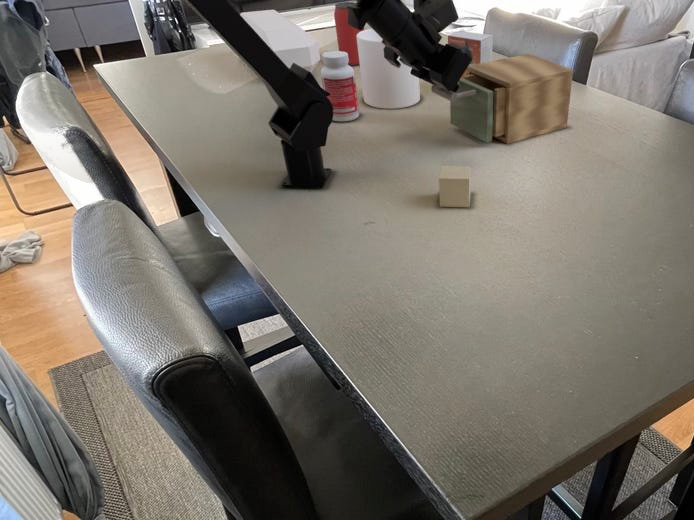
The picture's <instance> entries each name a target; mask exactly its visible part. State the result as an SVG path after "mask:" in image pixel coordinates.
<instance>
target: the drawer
mask: <svg viewBox="0 0 694 520" xmlns="http://www.w3.org/2000/svg"><path fill="white" fill-rule="evenodd" d="M458 85H459V89H458V90H457V92H453V91H450V92H449V91H447V90H445V89H442V88H440V87H439V86H436V85H433V84H431V86H430V87H431V88H430V90H431V92H432V94H433V93H434V94H436V95H437V96H440V97H441V98H443V99H446V100H448V101H449V105H450V106H449V108H450V109H449V110H450V112H449V113H450V125H452V126H454V127H456V128H458V129H459V130H462V131H463V132H465V133H467V134H469V135H471V136H473V137H475V138H477V139H478V140H481V141H482V142H485V143H486V144H487V143H491V142H493V136H495V137H497V136H501V135H504V134H505V123H506V98H507V87H505V86H503V85H500V84H498V83H496V82H493V81H491V80H488V79H486V78H484V77H481V76H479V75H476V74H470V75H465V76H463V78H460V80H459V81H458ZM492 135H493V136H492ZM495 137H494V138H495Z"/></svg>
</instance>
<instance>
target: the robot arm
mask: <svg viewBox="0 0 694 520" xmlns="http://www.w3.org/2000/svg"><path fill="white" fill-rule="evenodd" d="M183 1H184V2H185V3H186V4H187V6H188V7H190V8H191V9H192V11H194V12H195V13H196V15H197V16H198V17H199V18H200V19H201V20H202V21H203V22H204V23H205V24H206V25H207V26H208V27H209V28H210V29H211V30H212V31H213V32H214V33H215V34H216V35H217V37H219V38H220V39H221V40H222V41H223V42H224V43H225V44H226V45H227V46H228V47H229V48H230V49H231V50H232V51H233V52H234V53H235V55H237V57H239V59H240V60H241V61H242V62H243V63H244V64H245V65H246V66H247V67H248V68H249V69H250V70H251V71H252V72H253V73H254V74H255V75H256V76H257V77H258V78H259V79H260V80H261V81H262V83H263V85H264V87H266V89H267V91H268V93H269V95H270V97H271V98H272V100H273V101H274V102H275V104H276V106H277V107H276V110H274V112H273V114H272V116H271V117H270V119H269V121H268V126H269V127H270V129H271V131H272V132H273V134H274V135H275V136H277V137H279V138H280V146H281V150H282V154H283V159H284V165H285V167H286V172H287V174H286V176H285V177H284V179H283V181H282V182H281V186H282V188H299V189H300V188H304V189H305V188H306V189H323V188H324V187H325V186H326V184H327V181H328V180H329V178H330V176H331V175H332V168H329V167H325V165H324V160H323V154H322V148H323V147H325V146H326V145H327V140H328V134H329V127H330V126H331V124H332V122H333V120H332V119H333V110H334V108H333V105H332V103H331V102H330V100H329V99H328V98H327V96H330V93H329V92H327V91H325V90H324V89H323V87H322V86H321V85H320V84H319V82H318V81H317V79H316V77H315V76H314V75H313V72H309V71H307V70H306V69H304V68H302V67H300V66H299V65H297V64H295V63H293V64H292V66H291V67H290V68H288V67H287V66H286V65H285V64H284V63H283V61H282V60H281V59H280V58H279V57H278V56H277V55H276V54H275V53H274V52H273V50H272V49H271V48H270V47H269V46H268V45H267V44H266V43H265V42H264V41H263V39H262V38H261V37H260V36H259V35H258V34H257V33H256V32H255V31H254V30H253V28H252V27H251V26H250V25H249V24H248V23H247V22H246V21H245V20H244V19H243V17H242V16H241V15H240V14H241V13H239V12H238V11H237V10H236V8H235V7H234V6H233V5H232V4H231V3H230V2H229V0H183ZM355 1H356V2H354V3H355V4H354V5H352V6H347V11H348V25H349V26H351V27H353V28H355V29H358V30H360V31H361V30H362V29H363V28H364V29H365V27H366V25H368V26H369V27H370V29H373V30H374V31H375V32H376V33H377V34H378V35H379V36H380V37H381V38H382V39H383V40H382V43H383V44H384V45H385V47H384V58H385V59H386V60H387V61H388V62H389V63H390V64H391V65H393V66H395V67H397V68H400V66H401V63H400V62H399V61H398V60H397V58H398V57H399V56H400V59H399V60H400V61H401V62H402V63H403V64H404V65H407V66H409V67H411V68H412V69H411V72H410V73H411V75H413V76H415V77H418V78H419V80H423V81H424V82H426V83H429V84H431V85H436V86H439V87H440V88H442V89H445V90H447V91H449V92H450V91H453V92H457V90H458V89H459V85H458V81H459V80H460V78H461V77H462V75H463V74H464V72H465V70H466V69H467V67H468V66H469V64H470V63H471V61H472V55H471V54H470V53H469V51H468V50H467V49H466V48H465V47H463V46H460V45H457V44H455V43H448V42H447V43H445V44H442V43H440V41H441V40H442V38H443V36H442V35H441V32H443V31H444V30H446V29H447V27H449V26H450V25H451V24H453V23H456V22H457V21H458V20H459V18H460V17H459V14H458V12H457V9H456V6H455V3H454V1H453V0H412V1H413V2H412V4H413V11H412V10H411V9H409V7H408V6H407V5H406V4H405V3H404V2H403V1H402V0H355Z"/></svg>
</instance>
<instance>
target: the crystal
mask: <svg viewBox="0 0 694 520" xmlns="http://www.w3.org/2000/svg"><path fill="white" fill-rule="evenodd" d="M239 14H240V15H241V16H242V17H243V19H244V20H245V21H246V22H247V23H248V24H249V25H250V26H251V27H252V28H253V30H254V31H255V32H256V33H257V34H258V35H259V36H260V37H261V38H262V39H263V41H264V42H265V43H266V44H267V45H268V46H269V47H270V48H271V49H272V50H273V52H274V53H275V54H276V55H277V56H278V57H279V58H280V59H281V60H282V61H283V63H284V64H285V65H286V66H287V67H288V68H290V67H291V66H292V64H293V63H295V64H297V65H299V66H300V67H302V68H304V69H306V70H307V71H309V72H311V73H313V71H314V69H315V68H316V66H317V65H318V64H319V62H320V61H321V54H320V47H319V41H318V40H316V39H315V38H314V37H313V36H312V35H310V33H308V32H307V31H306V30H304V29H303V28H302V27H301V26H299V25H298V24H297V23H295V22H293V21H292V20H290V19H289V18H288V17H286V16H285V15H283V14H281V13H280V12H278V11H277V10H276V9H265V10H254V11H246V12H245V11H244V12H240V13H239Z"/></svg>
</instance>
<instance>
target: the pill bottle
mask: <svg viewBox="0 0 694 520" xmlns="http://www.w3.org/2000/svg"><path fill="white" fill-rule="evenodd" d="M321 56H322V57H321V58H322V63H323V65H324V66H323V67H322V68H321V70H320V78H321V83H322V89H324V90H325V91H327V92H329V93H330V96H327V98H328V99H329V100H330V102H331V103H332V105H333V108H334V110H333V119H332V121H334V122H350V121H353V120H356V119H358V118H359V116H360V107H359V100H358V99H359V98H358V92H357V91H358V90H357V85H356V84H357V82H356V77H355V71H354V69H353V67H352V66H351V65H348V62H349V58H348V53H346V52H342V51H339V50H332V51H326V52H323V53H322V54H321Z"/></svg>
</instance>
